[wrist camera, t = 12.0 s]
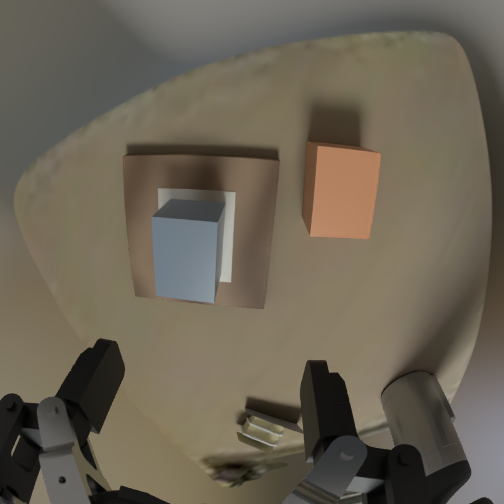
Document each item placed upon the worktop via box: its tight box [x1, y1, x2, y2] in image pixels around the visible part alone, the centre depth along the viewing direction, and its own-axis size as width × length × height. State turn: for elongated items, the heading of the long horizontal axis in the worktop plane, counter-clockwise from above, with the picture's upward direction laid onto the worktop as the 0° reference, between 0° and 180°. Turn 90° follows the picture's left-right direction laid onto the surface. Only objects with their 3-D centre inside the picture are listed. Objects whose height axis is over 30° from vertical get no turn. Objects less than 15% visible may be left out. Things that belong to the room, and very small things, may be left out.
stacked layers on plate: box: [237, 408, 304, 452], centre depth 40 cm, size 10×9×6 cm
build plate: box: [123, 154, 280, 309], centre depth 27 cm, size 14×15×1 cm
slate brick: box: [152, 199, 226, 303], centre depth 24 cm, size 5×7×5 cm
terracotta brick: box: [302, 142, 381, 239], centre depth 23 cm, size 5×7×5 cm
